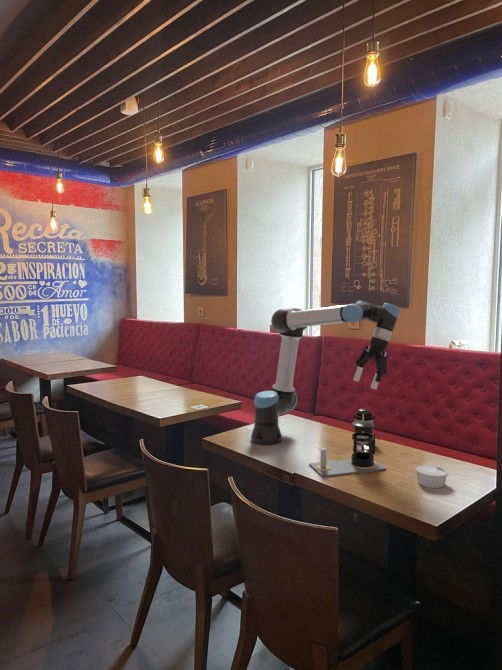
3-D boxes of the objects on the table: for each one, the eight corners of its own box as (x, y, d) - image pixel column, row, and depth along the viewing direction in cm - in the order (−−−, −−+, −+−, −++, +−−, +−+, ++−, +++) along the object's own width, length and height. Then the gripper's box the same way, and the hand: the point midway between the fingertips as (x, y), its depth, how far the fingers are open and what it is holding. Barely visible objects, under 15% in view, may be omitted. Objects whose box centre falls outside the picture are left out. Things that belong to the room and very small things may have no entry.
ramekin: (453, 487, 182) (454, 474, 181) (427, 491, 179) (428, 477, 178) (434, 476, 192) (434, 463, 192) (409, 480, 189) (409, 466, 189)
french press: (361, 469, 198) (362, 413, 195) (345, 462, 205) (345, 408, 203) (381, 463, 204) (382, 409, 202) (365, 457, 212) (366, 405, 210)
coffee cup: (358, 437, 243) (358, 408, 242) (377, 441, 238) (377, 410, 236) (349, 443, 235) (350, 412, 234) (369, 446, 230) (369, 415, 228)
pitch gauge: (308, 465, 206) (309, 444, 205) (369, 458, 213) (369, 439, 212) (322, 477, 192) (322, 455, 191) (386, 470, 199) (386, 449, 199)
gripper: (405, 346, 203) (388, 394, 204) (371, 336, 226) (355, 379, 227) (391, 341, 200) (374, 389, 201) (358, 331, 224) (342, 375, 224)
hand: (364, 384), depth 214 cm, fingers open, 13 cm apart
